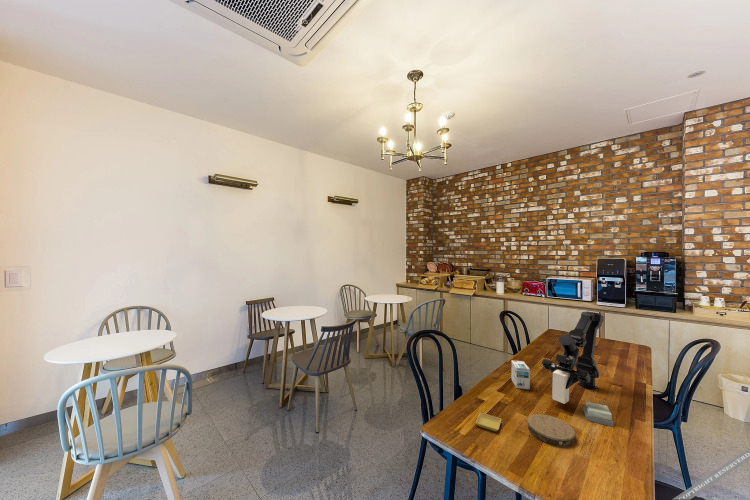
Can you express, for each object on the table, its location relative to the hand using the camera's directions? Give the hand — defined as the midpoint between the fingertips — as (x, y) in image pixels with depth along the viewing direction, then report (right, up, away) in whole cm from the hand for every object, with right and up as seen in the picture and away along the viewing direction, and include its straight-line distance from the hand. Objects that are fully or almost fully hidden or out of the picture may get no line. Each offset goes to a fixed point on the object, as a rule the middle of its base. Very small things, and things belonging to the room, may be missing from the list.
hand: (559, 386), depth 132 cm
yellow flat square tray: (-38, -10, -14) cm, 41 cm away
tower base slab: (+11, -10, -8) cm, 17 cm away
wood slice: (-16, -10, -19) cm, 26 cm away
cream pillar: (+1, -7, +1) cm, 7 cm away
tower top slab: (+11, -8, -8) cm, 16 cm away
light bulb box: (-7, -9, +22) cm, 25 cm away
